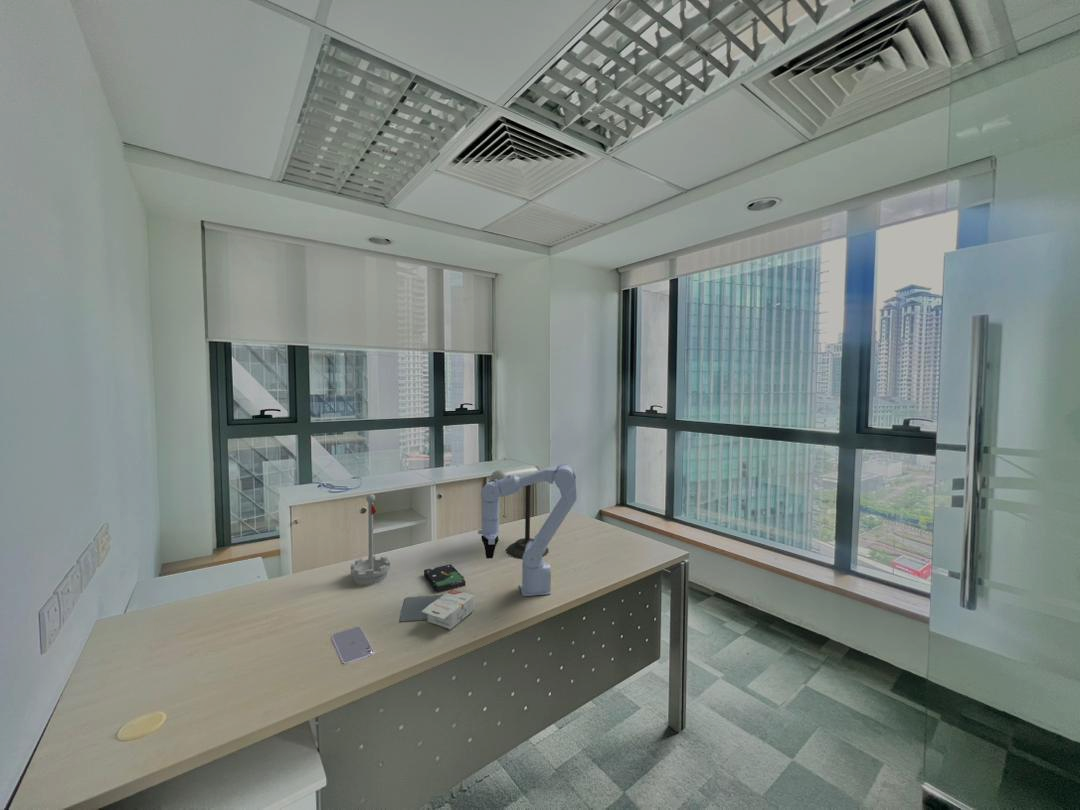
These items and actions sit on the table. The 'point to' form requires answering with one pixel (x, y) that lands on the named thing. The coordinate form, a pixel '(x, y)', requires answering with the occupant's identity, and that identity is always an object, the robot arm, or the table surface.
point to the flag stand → (370, 558)
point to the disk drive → (444, 578)
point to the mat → (416, 608)
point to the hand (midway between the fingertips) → (489, 557)
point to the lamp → (520, 471)
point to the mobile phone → (352, 645)
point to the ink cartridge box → (450, 608)
